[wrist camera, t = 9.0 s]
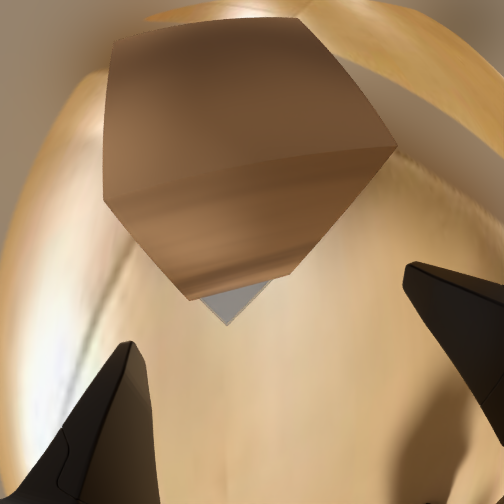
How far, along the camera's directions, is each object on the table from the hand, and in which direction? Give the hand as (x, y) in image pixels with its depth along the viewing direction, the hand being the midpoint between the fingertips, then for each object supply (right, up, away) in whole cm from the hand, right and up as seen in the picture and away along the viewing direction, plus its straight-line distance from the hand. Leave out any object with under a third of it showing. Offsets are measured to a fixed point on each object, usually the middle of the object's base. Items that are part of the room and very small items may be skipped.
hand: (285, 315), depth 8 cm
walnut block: (-2, +3, +9) cm, 10 cm away
